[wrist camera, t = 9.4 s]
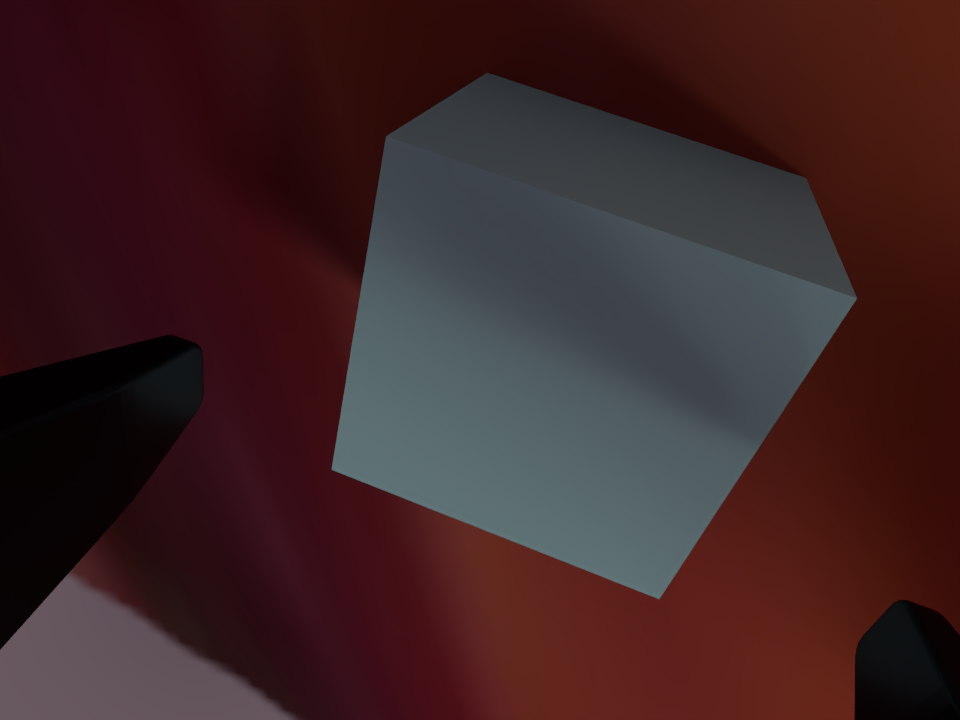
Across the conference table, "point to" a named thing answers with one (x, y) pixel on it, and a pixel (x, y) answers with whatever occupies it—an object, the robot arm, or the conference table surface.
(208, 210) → the conference table surface
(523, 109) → the teal block
